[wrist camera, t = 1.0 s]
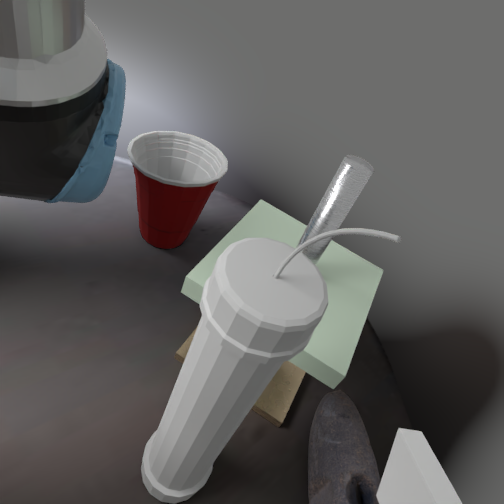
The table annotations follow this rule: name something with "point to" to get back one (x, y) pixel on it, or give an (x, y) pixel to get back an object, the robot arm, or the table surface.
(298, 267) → the pipe
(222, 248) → the pale mint square tile
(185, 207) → the plastic cup
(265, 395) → the post stand
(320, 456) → the perforated stone tool
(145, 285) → the table surface
